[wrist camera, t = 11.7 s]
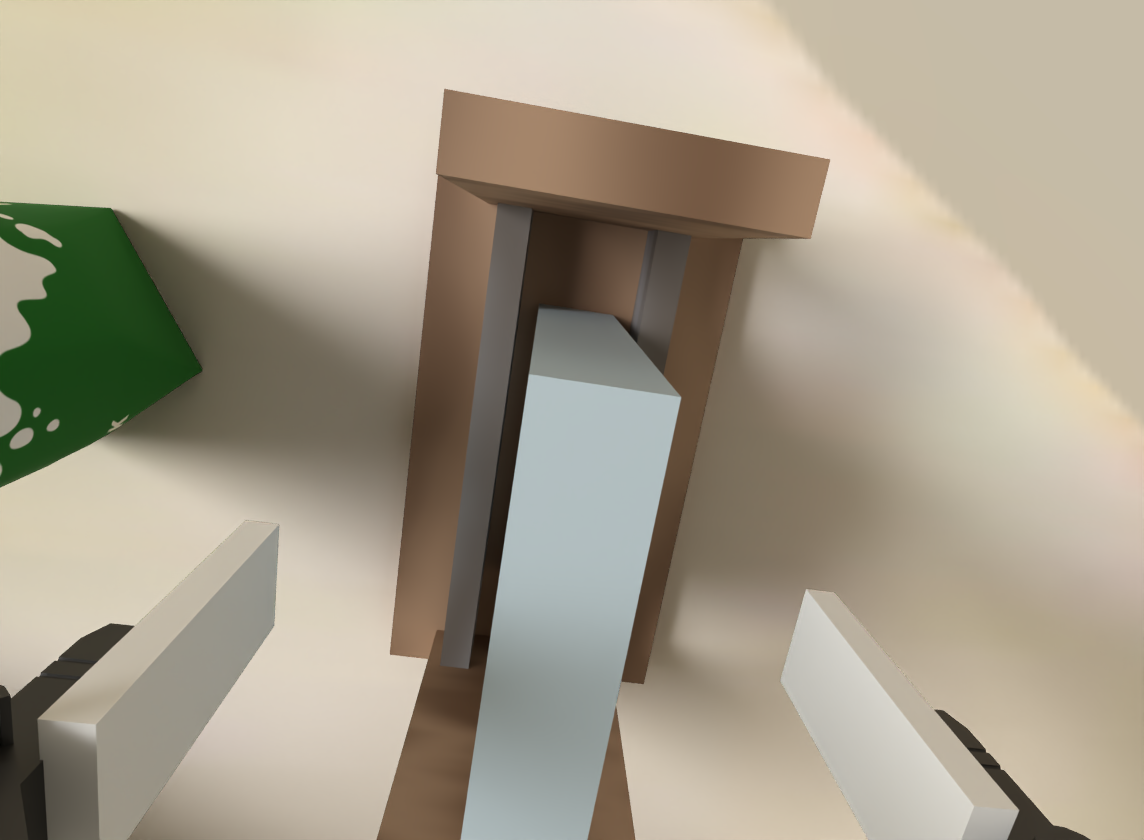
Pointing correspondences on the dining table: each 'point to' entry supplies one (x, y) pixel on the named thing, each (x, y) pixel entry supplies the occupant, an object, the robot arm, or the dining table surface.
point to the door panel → (568, 576)
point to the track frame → (502, 363)
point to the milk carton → (76, 334)
